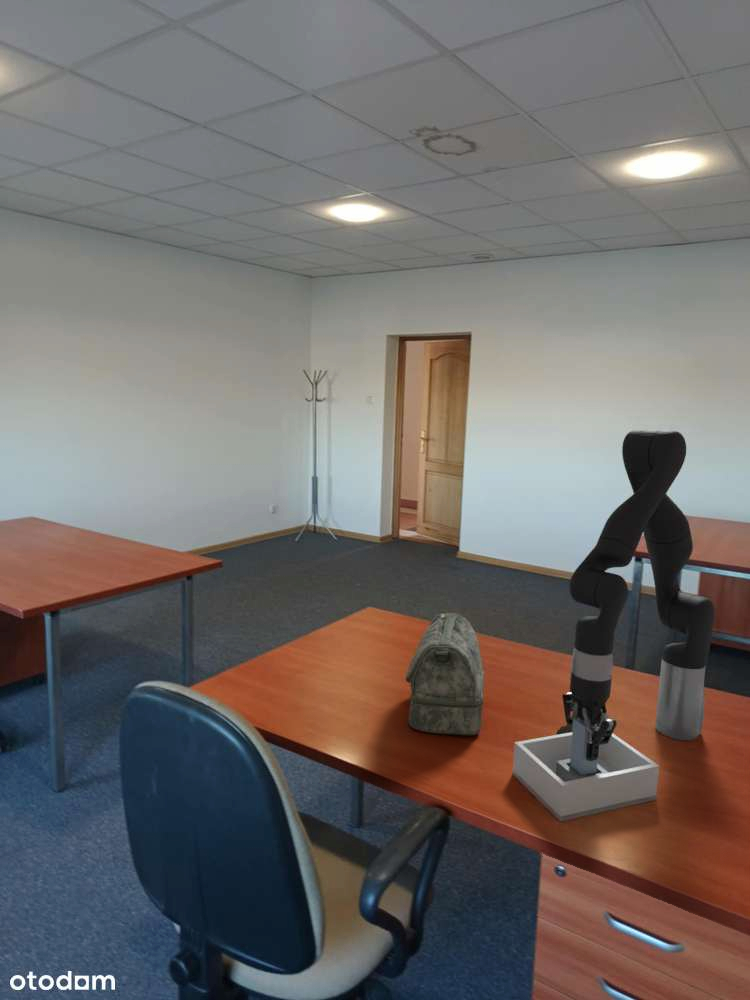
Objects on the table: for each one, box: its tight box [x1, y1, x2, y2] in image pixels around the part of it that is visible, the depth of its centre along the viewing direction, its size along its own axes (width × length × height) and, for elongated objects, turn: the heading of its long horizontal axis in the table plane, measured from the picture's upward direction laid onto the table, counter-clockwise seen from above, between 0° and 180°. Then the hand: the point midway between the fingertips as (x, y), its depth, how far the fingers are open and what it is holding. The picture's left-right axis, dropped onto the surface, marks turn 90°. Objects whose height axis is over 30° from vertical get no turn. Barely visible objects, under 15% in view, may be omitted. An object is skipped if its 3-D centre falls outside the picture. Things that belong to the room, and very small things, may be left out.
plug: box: [570, 718, 598, 776], centre depth 128 cm, size 4×4×10 cm
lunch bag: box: [405, 612, 485, 736], centre depth 158 cm, size 26×18×22 cm
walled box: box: [512, 732, 660, 822], centre depth 128 cm, size 22×16×7 cm
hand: (584, 753), depth 128 cm, fingers closed on plug, 3 cm apart
